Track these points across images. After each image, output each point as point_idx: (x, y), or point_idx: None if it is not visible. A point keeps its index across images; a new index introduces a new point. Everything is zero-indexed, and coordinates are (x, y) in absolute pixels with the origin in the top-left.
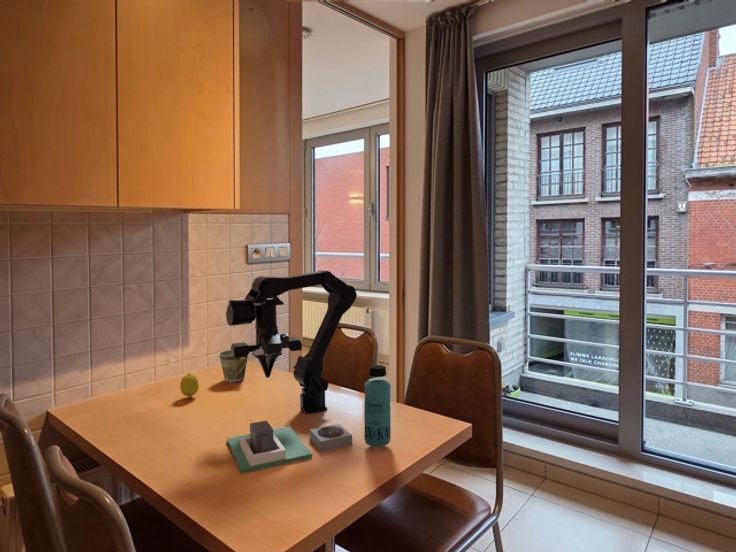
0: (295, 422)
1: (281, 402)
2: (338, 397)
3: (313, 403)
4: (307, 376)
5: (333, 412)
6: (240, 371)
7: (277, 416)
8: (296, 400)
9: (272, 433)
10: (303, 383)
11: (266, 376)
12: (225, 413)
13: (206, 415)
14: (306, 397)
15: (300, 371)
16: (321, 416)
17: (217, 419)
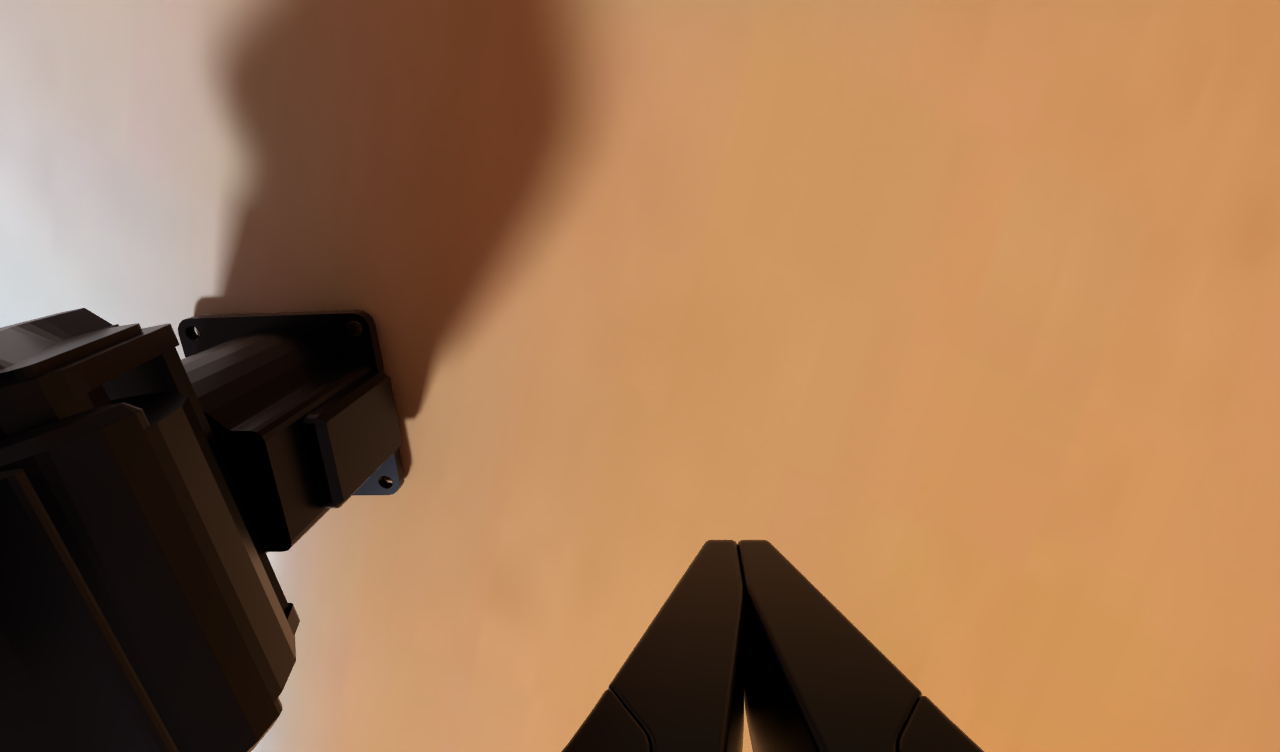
0: (502, 159)
1: (532, 639)
2: None
3: (262, 350)
4: (18, 430)
5: (144, 249)
6: None
7: (624, 370)
8: (413, 630)
9: None
10: (191, 420)
11: (774, 550)
12: (998, 610)
13: (1147, 633)
14: (292, 404)
15: (68, 564)
16: (257, 201)
17: (1100, 519)
